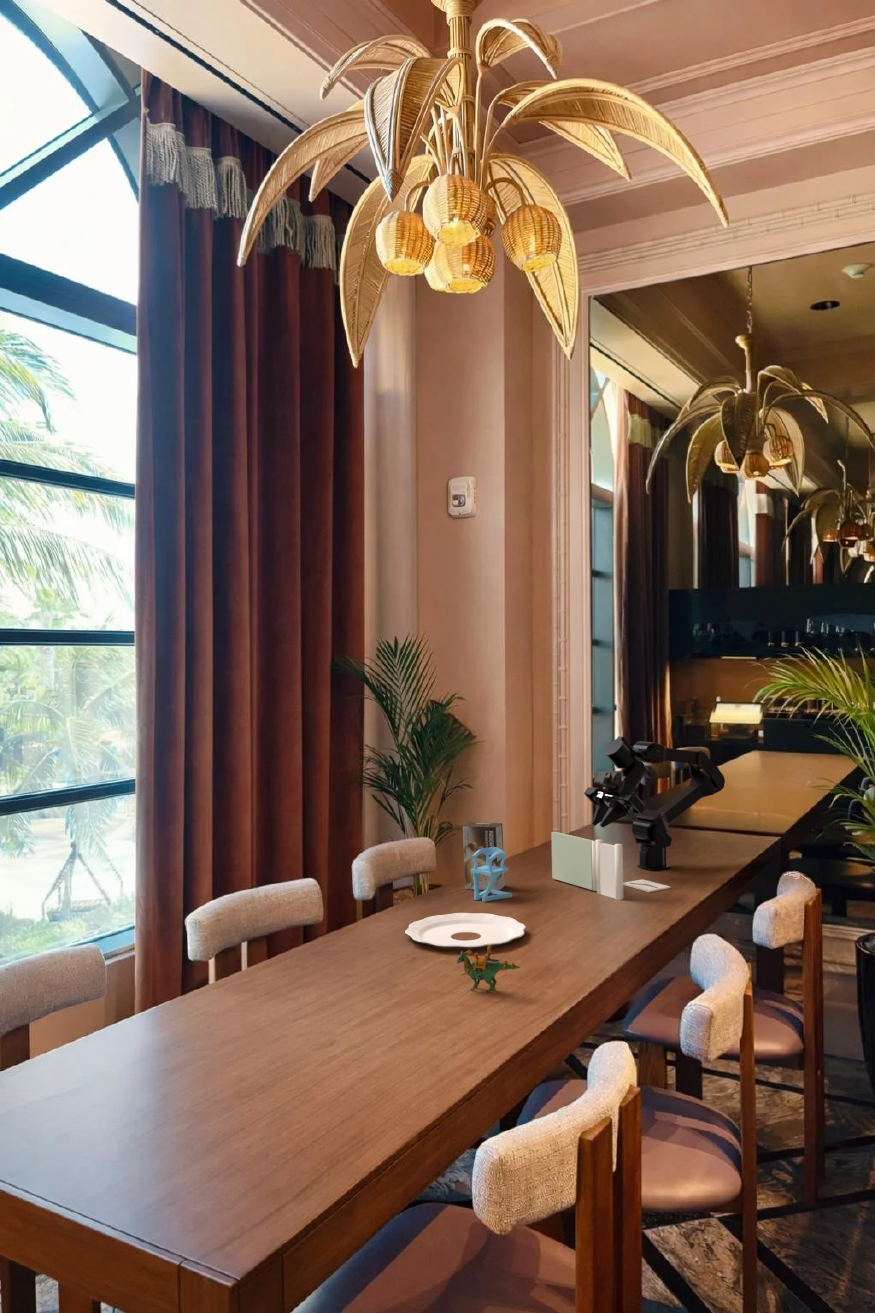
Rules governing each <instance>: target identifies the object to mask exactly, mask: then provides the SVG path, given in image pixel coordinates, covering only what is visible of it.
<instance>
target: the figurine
mask: <svg viewBox="0 0 875 1313" xmlns="http://www.w3.org/2000/svg"><path fill="white" fill-rule="evenodd" d="M492 948H493V947H492V946H491V945H489V946H488V948H486V949H487V950H486V951H487V952H486V953H485V955H484V957H479V953H478V952H476V953H474V955H473V956H474V958H475V960H474V961H473V962H472V963H471V960H470V958H469V957H471V956H472V954H473V950H465V952H464V950H461V952H460V955H459V956H458V957H457V961H456V964H461V963H463V973H460V972H459V973H460V975H462V976H464V975H467V976H469V978H471V980H472V981H473V982H474V984H473V986H472V988H470V991H474V990H475V989H476V988H478V986H479V985H480V982H481V981H484V982H485V983H486V984H487V985H489V987H488V989H486V990H485V994H489V993H494V991H493V990H495V991H496V990H497V988H496V985H497V982H498V981H497V980H496V975H497V973H499V972H501V971H507V970H512V971H513V970H515V969H516V970H517V969H521V966H519V965H516V963H514V962H511V964H509V961H507V960H506V959H505V960H504V962H502V958H500V959H497V958H491V956H492V954H493V953H492V951H491V950H492ZM466 955H467V956H468V957H467V956H466ZM500 961H501V962H500Z"/></svg>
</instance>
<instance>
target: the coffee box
mask: <svg viewBox="0 0 875 1313" xmlns="http://www.w3.org/2000/svg"><path fill="white" fill-rule="evenodd" d="M503 832H504V831H503V823H501V822H500V823H499V822H479V821H478V822H472V821H470V822H468V823H465V825H463V826H462V837H463V839H462V840H463V841H462V842H463V844H462V845H463V866H464V867H463V868H464V870H463V871H464V889H465V890H474V876H473V873H471V869H473V868H474V861H473V858H472V855H474V854H475V853H476V851H478V850H480V849H483V848H490V847H497V848H499V849H501V850H502V851H504V835H503ZM491 856H492V855H489V857H491ZM476 861H477V864H478V867H482V866H484V865H486V855H485V854H479V855H478V856H477V857H476ZM501 861H502V857H500V856H498V857H496V858H495V859H494V860H493V861H492V865H493V866H497V867H501ZM478 867H477V868H478ZM489 882H490V876H487V875H484V874H480V876H479V891H484V890H486V889H487V886H488V884H489ZM504 887H505V872H504V873H502V874H501V875H499V876H498V877H497V878H496V880H495V882H494V884H493V886H492V888H491V889H492V890H497V891H501V889H503V888H504Z"/></svg>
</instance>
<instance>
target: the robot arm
mask: <svg viewBox="0 0 875 1313" xmlns="http://www.w3.org/2000/svg"><path fill="white" fill-rule="evenodd" d="M603 753H604V755H605V756H606V757H607V758H608V760H610V762H612V765H613V766H615V768H617V769H621V771H620V772H619V771H613V772H612V773H611V772H610V773H609V772H605V771H600V770H599V771H598V770H597V772H596V774H595V777H594V781H593V783H594V784H595V785H600V786H601V787H602V790H603V791H602V790H601V789H600V787H593V786H590V787H587V788H586V789H585V791H584V792H583V794H584V795H585V797H586V798H587V799H588V800H589V801H590V802H591V803H592V804H593V805H594V806H595V810H594V814H593V817H592V822H591V824H592V825H593V826H594V827H595V826H598V824H599V826H600V827H601V828H605V827H607V826H608V825H610V824H612V823H613V822H616V821H618V820H619V819H620V820H621V818H624V817H626V816H630V810H631V809H632V808H633V809H632V812H633V814H634V815H635V819H634V820H633V822H632V823H631V825H632V827H631V832H632V835H633V838H634V840H635V844H637V845H639V844H640V850H639V864H637V865H636V866H637V867H638V868H642V869H644V870H648V871H659V870H665V869H666V870H667V869H671V865H667V848H668V847H671V845H672V840H673V839H672V837H671V835H669V833H668V831H669V830H668V829H669V825H670V824H671V823H672V822H674V821H675V820H676V819H677V818H679V817H680V816H681V815H683V814H684V813H685V812H686V811H688V810H689V809H690V808H691V807H692V806H694V804H696V803H697V802H699V801H700V800H701V799H703V798H706V797H710V796H713V795H716V794H718V793H719V792H721V791H722V790H723V789H725V783H726V779H725V777H724V774H723V773H722V772H721V770H720V768H719V767H718V766H717V765H716V764H715V763H714V762H713V761H712V760H711V759H709V757H708V755H707V754H706V753H705V752H704V751H702V750H695V749H690V750H689V749H678V748H670V747H666V746H665V745H663V744H661V743H658V742H651V741H641V740H639V741H636V742H635V744H634V745H633V746H631V745H630V744H629V742H628V741H627V738H625V736H617V738H616V739H613V740H611V741H610V742H609V743H608V744H606V745H605V747H604V748H603ZM665 762H674V763H675V762H676V763H683V764H687V765H688V773H689V776H690V779H689V784H688V785H687V786H686V787H685V788H684V789H682V790H681V791H680V792H679V793H677V794H676V795H674V797H672V798H671V799H670V800H669V801H667V802H666V803H664V805H662V806H661V807H659V808H658V809H657V810H651V809H646V804H645V803H644V802H643V801H642V800H641V798H640V797H639V796H638V795H637V794H638V792H639V789H638V788H637V787H638V786H639V784H640V783H641V781H642V780H643V778H649V779H652V778H653V773H652V771H651V770H652V769H651V767H648V766H646V765H645V764H651V765H657V764H663V763H665ZM644 763H645V764H644ZM700 768H701V769H700ZM604 792H605V793H604Z"/></svg>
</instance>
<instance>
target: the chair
mask: <svg viewBox="0 0 875 1313" xmlns="http://www.w3.org/2000/svg"><path fill="white" fill-rule="evenodd" d="M479 854H485V855H486V865H484V866H482V867H478V864H477V861H476V857H477V856H478V855H479ZM489 855H492V856H491V857H489ZM498 856H500V857H502V861H501V867H497V866H493V865H492V861H493V860H494V859H495V858H496V857H498ZM506 857H507V853H506V852H505V851H504V850H503V851H502V850H501V849H499V848H497V847H490V848H483V849H480V850H478V851H476V853H475V854H474V855H472V858H473V861H474V868H473V869H471V873H473V876H474V889H473V890H474V896H473V900H474V901H479V900H481V902H482V903H483V902H484V903H485V902H486V903H487V902H490V901H497V900H502V899H509V898H512V897H513V892H509V891H502V890H499V891H497V890H492V889H491V888H492V886H493V884H494V882H495V880H496V878H497V877H498V876H499V875H501V874H502V873H504V874H505V873H507V872H509V867H506V866H505V860H506ZM477 867H478V868H477ZM480 874H484V875H487V876H490V882H489V884H488V886H487V889H486V890H482V891H480V890H479V876H480ZM489 894H493V895H489Z"/></svg>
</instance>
